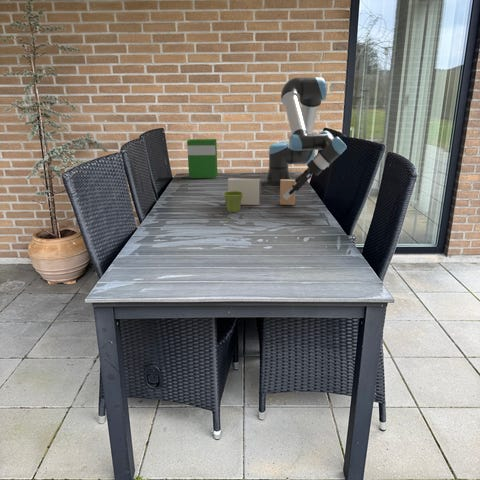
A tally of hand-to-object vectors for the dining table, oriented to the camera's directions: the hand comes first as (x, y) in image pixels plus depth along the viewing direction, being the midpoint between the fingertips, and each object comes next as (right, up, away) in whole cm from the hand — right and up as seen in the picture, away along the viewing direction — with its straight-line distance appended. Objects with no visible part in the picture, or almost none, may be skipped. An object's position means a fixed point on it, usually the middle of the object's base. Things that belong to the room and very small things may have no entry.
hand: (285, 194), depth 221 cm
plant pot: (-26, -9, -7) cm, 28 cm away
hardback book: (-46, +18, +71) cm, 86 cm away
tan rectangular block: (+1, -5, +2) cm, 5 cm away
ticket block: (-20, -4, +5) cm, 21 cm away
